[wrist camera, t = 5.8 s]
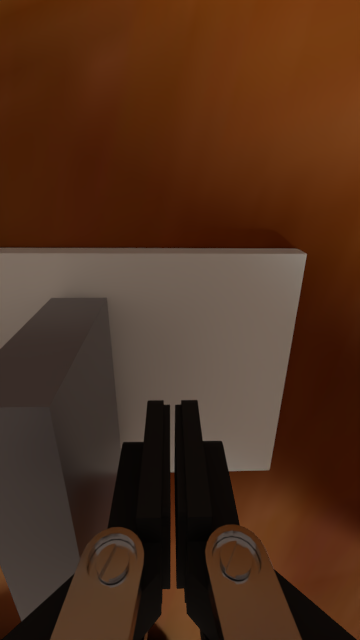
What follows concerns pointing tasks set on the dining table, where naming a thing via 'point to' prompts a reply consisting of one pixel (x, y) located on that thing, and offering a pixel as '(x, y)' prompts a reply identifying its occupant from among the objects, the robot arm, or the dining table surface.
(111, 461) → the grey t-shaped bar
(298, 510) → the dining table surface
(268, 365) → the press frame
